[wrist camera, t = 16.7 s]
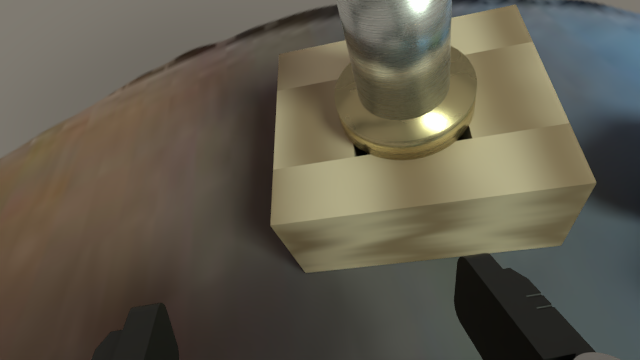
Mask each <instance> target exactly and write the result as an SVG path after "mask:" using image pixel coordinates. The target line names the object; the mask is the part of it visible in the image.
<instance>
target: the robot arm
mask: <svg viewBox="0 0 640 360" xmlns="http://www.w3.org/2000/svg"><path fill="white" fill-rule="evenodd" d="M454 304H455V310H456V313H457V316H458V319H459V321H460V323H461V324H462V326H463V328H464V329H465V331H466V333H467V334H468V336H469V337H470V339H471V341H472V342H473V344H474V346H475V347H476V349H477V351H478V352H479V354H480V355H481V357H482V359H483V360H620V359H618V358H616V357H613V356H610V355H607V354H603V353H596V352H595V351H594V350H593V348H592V347H591V346H590V345H589V344H588V343H587V342H586V341H585V340H584V339H583V338H582V337H581V336H580V334H579V333H578V332H577V331H576V330H575V329H574V328H573V327H572V326H571V325H570V324H569V323H568V321H567V320H566V319H565V318H564V317H563V316H562V315H561V314H560V313H559V312H558V311H557V310H556V309H555V307H552V305H551V303H550V302H549V301H548V300H547V299H546V298H545V297H544V296H542V295H541V292H540V291H539V290H538V289H537V288H536V287H535V286H534V285H533V284H532V283H531V282H530V280H529V279H527V278H526V277H524V276H522V275H521V274H519V273H517V272H516V271H514V270H512V269H511V268H507V269H502V268H501V266H500V265H499V264H498V263H497V262H496V261H495V260H494V258H493V257H492V256H491V255H490V254H488V253H481V254H474V255H468V256H462V257H460V258H459V259H458V262H457V272H456V284H455V295H454ZM91 360H179V353H178V346H177V342H176V339H175V336H174V333H173V329H172V326H171V323H170V320H169V316H168V313H167V310H166V307H165V305H164V304H163V303H157V304H151V305H145V306H138V307H133V308H131V310H130V311H129V314H128V317H127V320H126V322H125V325H124V328H123V330H119V331H113V332H110V333H109V335H108V336H107V337H106V338H105V339H104V340H103V342H102V343H101V344H100V345H99V346H98V347H97V348H96V350H95V352H94V355H93V357H92V359H91Z"/></svg>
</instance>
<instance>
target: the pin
mask: <svg viewBox="0 0 640 360" xmlns="http://www.w3.org/2000/svg"><path fill="white" fill-rule="evenodd" d="M336 1H337V5H338V10H339V14H340V18H341V23H342V27H343V31H344V36H345V40H346V44H347V49H348V53H349V57H350V63H349V64H348V65H347V66H346V68H345V69H344V70H343V72H342V73H341V75H340V77H339V78H338V81H337V84H336V87H335V95H334V99H335V105H336V108H337V112H338V115H339V118H340V122H341V125H342V128H343V130H344V132H345V134H346V136H347V137H348V138H349V140H350V141H351V142H352V143H353V144H354V145H355V146H356V147H358V148H359V149H361V150H362V151H364V152H366V153H368V154H370V155H373V156H376V157H379V158H383V159H389V160H413V159H418V158H423V157H427V156H430V155H433V154H435V153H437V152H440V151H442V150H444V149H445V148H447V147H449V146H450V145H452V144H453V143H454V142H455V141H457V140H458V139H459V138H460V137H461V136H462V135H463V134H464V132H465V131H466V130H467V128H468V127H469V125H470V123H471V121H472V118H473V115H474V110H475V102H476V91H477V77H476V72H475V70H474V67H473V65H472V64H471V62H470V61H469V59H468V58H467V57H466V56H465V55H464V54H463V53H462V52H460V51H459V50H458V49H456V48H454V47H453V46H451V12H452V0H336Z"/></svg>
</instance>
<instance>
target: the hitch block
mask: <svg viewBox="0 0 640 360" xmlns="http://www.w3.org/2000/svg"><path fill="white" fill-rule="evenodd" d="M451 46H453V47H454V48H456V49H458V50H459V51H460V52H462V53H463V54H464V55H465V56H466V57H467V58H468V59H469V61H470V62H471V64H472V65H473V67H474V70H475V72H476V77H477V91H476V102H475V110H474V115H473V118H472V121H471V123H470V125H469V127H468V128H467V130H466V131H465V132H464V134H463V135H462V136H461V137H460V138H459V139H458V140H457V141H455V142H454V143H453V144H452V145H450V146H449V147H447V148H445V149H444V150H442V151H440V152H437V153H435V154H433V155H430V156H427V157H423V158H418V159H413V160H389V159H383V158H379V157H376V156H373V155H366V154H365V152H364V151H362V150H361V149H359V148H358V147H356V146H355V145H354V144H353V143H352V142H351V141H350V140H349V138H348V137H347V136H346V134H345V132H344V130H343V128H342V125H341V122H340V118H339V115H338V112H337V108H336V105H335V99H334V95H335V87H336V84H337V81H338V78H339V77H340V75H341V73H342V72H343V70H344V69H345V68H346V66H347V65H348V64H349V63H350V57H349V53H348V49H347V44H346V40H345V41H340V42H335V43H330V44H326V45H321V46H316V47H311V48H307V49H302V50H297V51H292V52H287V53H283V54H279V67H278V86H277V106H276V125H275V145H274V164H273V184H272V203H271V223H270V226H271V227H272V228H273V230H274V231H275V233H276V234H277V235H278V237H279V238H280V239H281V241H282V242H283V243H284V245H285V246H286V247H287V249H288V250H289V251H290V253H291V254H292V255H293V257H294V258H295V259H296V261H297V262H298V264H299V265H300V266H301V268H302V269H303V270H304V272H305V273H311V272H320V271H329V270H338V269H348V268H357V267H366V266H376V265H385V264H394V263H403V262H413V261H422V260H431V259H441V258H450V257H459V256H468V255H474V254H481V253H496V252H506V251H515V250H524V249H534V248H543V247H552V246H561V245H562V243H563V241H564V240H565V238H566V236H567V234H568V233H569V231H570V229H571V227H572V225H573V224H574V222H575V220H576V218H577V217H578V215H579V213H580V211H581V210H582V208H583V206H584V204H585V203H586V201H587V199H588V197H589V195H590V194H591V192H592V190H593V188H594V187H595V185H596V183H597V182H596V180H595V178H594V176H593V174H592V171H591V169H590V167H589V165H588V163H587V160H586V158H585V156H584V154H583V152H582V149H581V147H580V145H579V143H578V141H577V138H576V136H575V134H574V132H573V130H572V127H571V125H570V123H569V121H568V119H567V116H566V114H565V112H564V110H563V107H562V105H561V103H560V101H559V99H558V96H557V94H556V92H555V90H554V88H553V85H552V83H551V81H550V79H549V77H548V74H547V72H546V70H545V68H544V66H543V63H542V61H541V59H540V57H539V55H538V52H537V50H536V48H535V46H534V44H533V41H532V39H531V37H530V35H529V33H528V30H527V28H526V26H525V24H524V22H523V19H522V17H521V15H520V13H519V11H518V8H517V6H516V5H512V6H507V7H502V8H497V9H493V10H488V11H483V12H478V13H474V14H469V15H464V16H459V17H454V18H451Z"/></svg>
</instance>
